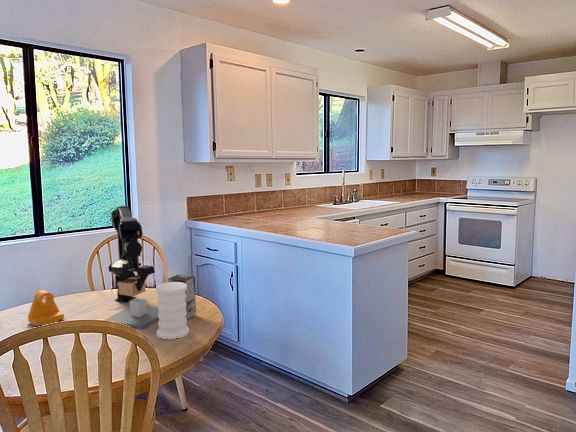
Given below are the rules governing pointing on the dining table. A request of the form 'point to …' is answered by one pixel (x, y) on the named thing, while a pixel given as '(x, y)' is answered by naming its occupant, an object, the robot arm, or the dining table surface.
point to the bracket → (44, 309)
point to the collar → (130, 287)
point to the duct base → (136, 320)
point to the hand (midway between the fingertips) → (132, 289)
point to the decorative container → (172, 310)
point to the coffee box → (187, 293)
